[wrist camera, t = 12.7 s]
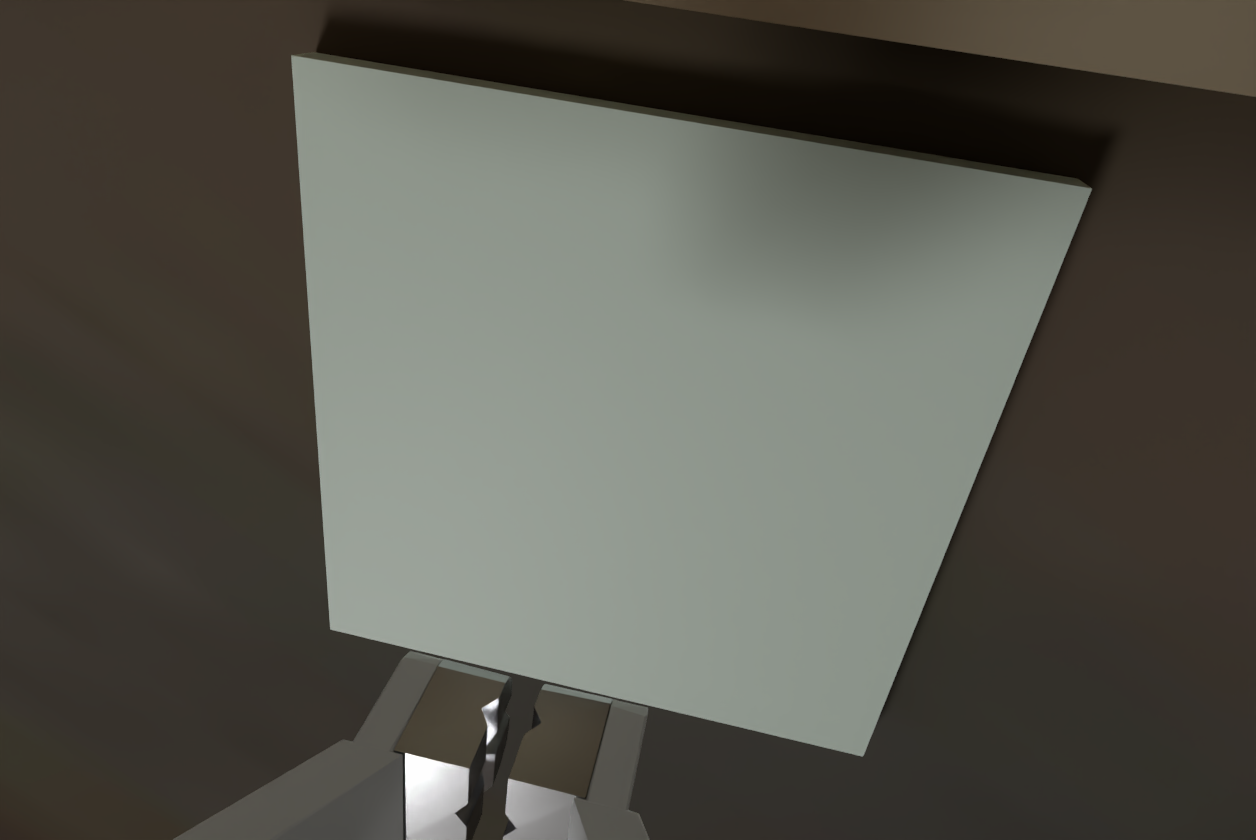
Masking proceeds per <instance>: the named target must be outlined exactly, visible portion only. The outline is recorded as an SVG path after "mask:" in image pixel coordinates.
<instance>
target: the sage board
mask: <svg viewBox="0 0 1256 840" xmlns="http://www.w3.org/2000/svg"><path fill="white" fill-rule="evenodd" d="M291 57H292V72H293V87H294V102H295V116H296V131H297V146H298V161H299V175H300V190H301V205H302V220H303V234H304V249H305V264H306V279H307V293H308V308H309V323H310V338H311V352H312V367H313V382H314V397H315V411H316V426H317V441H318V456H319V470H320V485H321V500H322V515H323V529H324V544H325V559H326V573H327V588H328V603H329V618H330V629H331V630H335V631H339V632H343V633H347V634H351V635H356V636H360V637H364V638H368V639H372V640H377V641H381V642H385V643H389V644H393V645H398V646H402V647H406V648H410V649H414V650H419V651H423V652H427V653H431V654H435V655H440V656H444V657H448V658H452V659H456V660H460V661H465V662H469V663H473V664H477V665H481V666H486V667H490V668H494V669H498V670H502V671H507V672H511V673H515V674H519V675H523V676H528V677H532V678H536V679H540V680H544V681H548V682H553V683H557V684H561V685H565V686H569V687H574V688H578V689H582V690H586V691H590V692H595V693H599V694H603V695H607V696H611V697H616V698H620V699H624V700H628V701H632V702H636V703H641V704H645V705H649V706H653V707H657V708H662V709H666V710H670V711H674V712H678V713H683V714H687V715H691V716H695V717H699V718H704V719H708V720H712V721H716V722H720V723H724V724H729V725H733V726H737V727H741V728H745V729H750V730H754V731H758V732H762V733H766V734H771V735H775V736H779V737H783V738H787V739H792V740H796V741H800V742H804V743H808V744H812V745H817V746H821V747H825V748H829V749H833V750H838V751H842V752H846V753H850V754H854V755H859V756H863V755H864V753H865V750H866V748H867V745H868V743H869V740H870V738H871V736H872V733H873V731H874V728H875V726H876V723H877V721H878V718H879V716H880V713H881V711H882V708H883V706H884V703H885V701H886V698H887V696H888V693H889V691H890V688H891V686H892V683H893V681H894V679H895V676H896V674H897V671H898V669H899V666H900V664H901V661H902V659H903V656H904V654H905V651H906V649H907V646H908V644H909V641H910V639H911V636H912V634H913V631H914V629H915V627H916V624H917V622H918V619H919V617H920V614H921V612H922V609H923V607H924V604H925V602H926V599H927V597H928V594H929V592H930V589H931V587H932V584H933V582H934V579H935V577H936V574H937V572H938V570H939V567H940V565H941V562H942V560H943V557H944V555H945V552H946V550H947V547H948V545H949V542H950V540H951V537H952V535H953V532H954V530H955V527H956V525H957V522H958V520H959V518H960V515H961V513H962V510H963V508H964V505H965V503H966V500H967V498H968V495H969V493H970V490H971V488H972V485H973V483H974V480H975V478H976V475H977V473H978V470H979V468H980V465H981V463H982V461H983V458H984V456H985V453H986V451H987V448H988V446H989V443H990V441H991V438H992V436H993V433H994V431H995V428H996V426H997V423H998V421H999V418H1000V416H1001V413H1002V411H1003V408H1004V406H1005V404H1006V401H1007V399H1008V396H1009V394H1010V391H1011V389H1012V386H1013V384H1014V381H1015V379H1016V376H1017V374H1018V371H1019V369H1020V366H1021V364H1022V361H1023V359H1024V356H1025V354H1026V352H1027V349H1028V347H1029V344H1030V342H1031V339H1032V337H1033V334H1034V332H1035V329H1036V327H1037V324H1038V322H1039V319H1040V317H1041V314H1042V312H1043V309H1044V307H1045V304H1046V302H1047V299H1048V297H1049V295H1050V292H1051V290H1052V287H1053V285H1054V282H1055V280H1056V277H1057V275H1058V272H1059V270H1060V267H1061V265H1062V262H1063V260H1064V257H1065V255H1066V252H1067V250H1068V247H1069V245H1070V243H1071V240H1072V238H1073V235H1074V233H1075V230H1076V228H1077V225H1078V223H1079V220H1080V218H1081V215H1082V213H1083V210H1084V208H1085V205H1086V203H1087V200H1088V198H1089V195H1090V193H1091V190H1092V188H1091V187H1089V186H1088V185H1086V184H1085V183H1083V182H1082V181H1081V180H1079V179H1077V178H1071V177H1065V176H1059V175H1053V174H1047V173H1041V172H1035V171H1029V170H1023V169H1017V168H1011V167H1005V166H999V165H993V164H987V163H981V162H975V161H969V160H963V159H957V158H951V157H945V156H939V155H932V154H926V153H920V152H914V151H908V150H902V149H896V148H890V147H884V146H878V145H872V144H866V143H860V142H854V141H848V140H842V139H836V138H830V137H824V136H818V135H812V134H806V133H800V132H794V131H787V130H781V129H775V128H769V127H763V126H757V125H751V124H745V123H739V122H733V121H727V120H721V119H715V118H709V117H703V116H697V115H691V114H685V113H679V112H673V111H667V110H661V109H655V108H649V107H642V106H636V105H630V104H624V103H618V102H612V101H606V100H600V99H594V98H588V97H582V96H576V95H570V94H564V93H558V92H552V91H546V90H540V89H534V88H528V87H522V86H516V85H510V84H503V83H497V82H491V81H485V80H479V79H473V78H467V77H461V76H455V75H449V74H443V73H437V72H431V71H425V70H419V69H413V68H407V67H401V66H395V65H389V64H383V63H377V62H371V61H365V60H358V59H352V58H346V57H340V56H334V55H328V54H322V53H316V52H312V53H305V54H298V55H291Z"/></svg>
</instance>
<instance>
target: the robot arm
mask: <svg viewBox="0 0 1256 840" xmlns="http://www.w3.org/2000/svg"><path fill="white" fill-rule="evenodd" d="M511 694H512V678H511V677H509V676H505V675H501V674H497V673H494V672H490V671H486V670H482V669H479V668H475V667H471V666H467V665H464V664H460V663H456V662H452V661H448V660H445V659H444V660H443V659H439V658H435V657H431V656H428V655H424V654H420V653H416V652H412V651H410V652H409V653H408V654H407V655H405V656H404V657H403V658H402V659H401V661H400V662H399V664H398V666H397V668H396V669H395V671H394V673H393V674H392V676H391V678H390V679H389V681H388V683H387V685H386V686H385V688H384V690H383V691H382V693H381V695H380V696H379V698H378V700H377V701H376V703H375V705H374V707H373V708H372V710H371V712H370V713H369V715H368V717H367V718H366V720H365V722H364V724H363V725H362V727H361V729H360V730H359V732H358V734H357V735H356V737H355V739H354V741H353V742H352V741H347V740H341V741H339V742H338V743H336V744H334V745H332V746H331V747H329V748H327V749H326V750H324V751H322V752H321V753H319V754H317V755H316V756H314V757H312V758H310V759H309V760H307V761H305V762H304V763H302V764H300V765H299V766H297V767H295V768H293V769H292V770H290V771H288V772H287V773H285V774H283V775H282V776H280V777H278V778H276V779H275V780H273V781H271V782H270V783H268V784H266V785H265V786H263V787H261V788H259V789H258V790H256V791H254V792H253V793H251V794H249V795H248V796H246V797H244V798H243V799H241V800H239V801H237V802H236V803H234V804H232V805H231V806H229V807H227V808H226V809H224V810H222V811H220V812H219V813H217V814H215V815H214V816H212V817H210V818H209V819H207V820H205V821H203V822H202V823H200V824H198V825H197V826H195V827H193V828H192V829H190V830H188V831H186V832H185V833H183V834H181V835H180V836H178V837H176V838H175V839H173V840H472V839H473V836H474V833H475V831H476V828H477V826H478V823H479V820H480V818H481V815H482V807H483V794H484V791H486V790H487V789H489V788H490V787H491V786H493V784H494V781H495V778H496V775H497V773H498V770H499V767H500V764H501V760H502V756H503V753H504V749H505V746H506V740H507V735H508V729H509V719H510V717H509V716H508V715H507V713H506V712H505V710H506V708H507V705H508V703H509V700H510V698H511ZM647 716H648V708H647V707H642V706H638V705H634V704H630V703H625V702H621V701H617V700H613V702H612V699H610V698H605V697H601V696H596V695H592V694H588V693H583V692H579V691H574V690H570V689H565V688H561V687H556V686H552V685H547V684H545V685H544V686H543V687H542V689H541V691H540V693H539V696H538V698H537V701H536V704H535V706H534V715H533V723H532V730H530V731H529V732H527V733H526V734H524V737H523V739H522V742H521V745H520V748H519V751H518V754H517V756H516V759H515V762H514V765H513V768H512V770H511V773H510V776H509V780H508V790H507V800H506V811H505V814H506V815H507V817H508V818H509V821H508V824H507V827H506V830H505V833H504V836H503V840H650V839H649V837H648V835H647V832H646V830H645V827H644V825H643V823H642V820H641V818H640V815H639V813H635V812H632V811H628V810H629V805H630V800H631V795H632V790H633V785H634V780H635V775H636V770H637V766H638V761H639V756H640V751H641V746H642V741H643V736H644V731H645V726H646V721H647Z"/></svg>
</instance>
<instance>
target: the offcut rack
mask: <svg viewBox="0 0 1256 840" xmlns="http://www.w3.org/2000/svg"><path fill="white" fill-rule="evenodd" d="M625 1H632V2H638V3H645V4H651V5H658V6H665V7H671V8H678V9H684V10H691V11H697V12H704V13H710V14H717V15H723V16H730V17H736V18H743V19H750V20H756V21H763V22H769V23H776V24H782V25H789V26H795V27H802V28H808V29H815V30H822V31H828V32H835V33H841V34H848V35H854V36H861V37H867V38H874V39H880V40H887V41H893V42H900V43H907V44H913V45H920V46H926V47H933V48H939V49H946V50H952V51H959V52H965V53H972V54H979V55H985V56H992V57H998V58H1005V59H1011V60H1018V61H1024V62H1031V63H1037V64H1044V65H1050V66H1057V67H1064V68H1070V69H1077V70H1083V71H1090V72H1096V73H1103V74H1109V75H1116V76H1122V77H1129V78H1136V79H1142V80H1149V81H1155V82H1162V83H1168V84H1175V85H1181V86H1188V87H1194V88H1201V89H1207V90H1214V91H1221V92H1227V93H1234V94H1240V95H1247V96H1253V97H1256V0H625Z"/></svg>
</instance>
